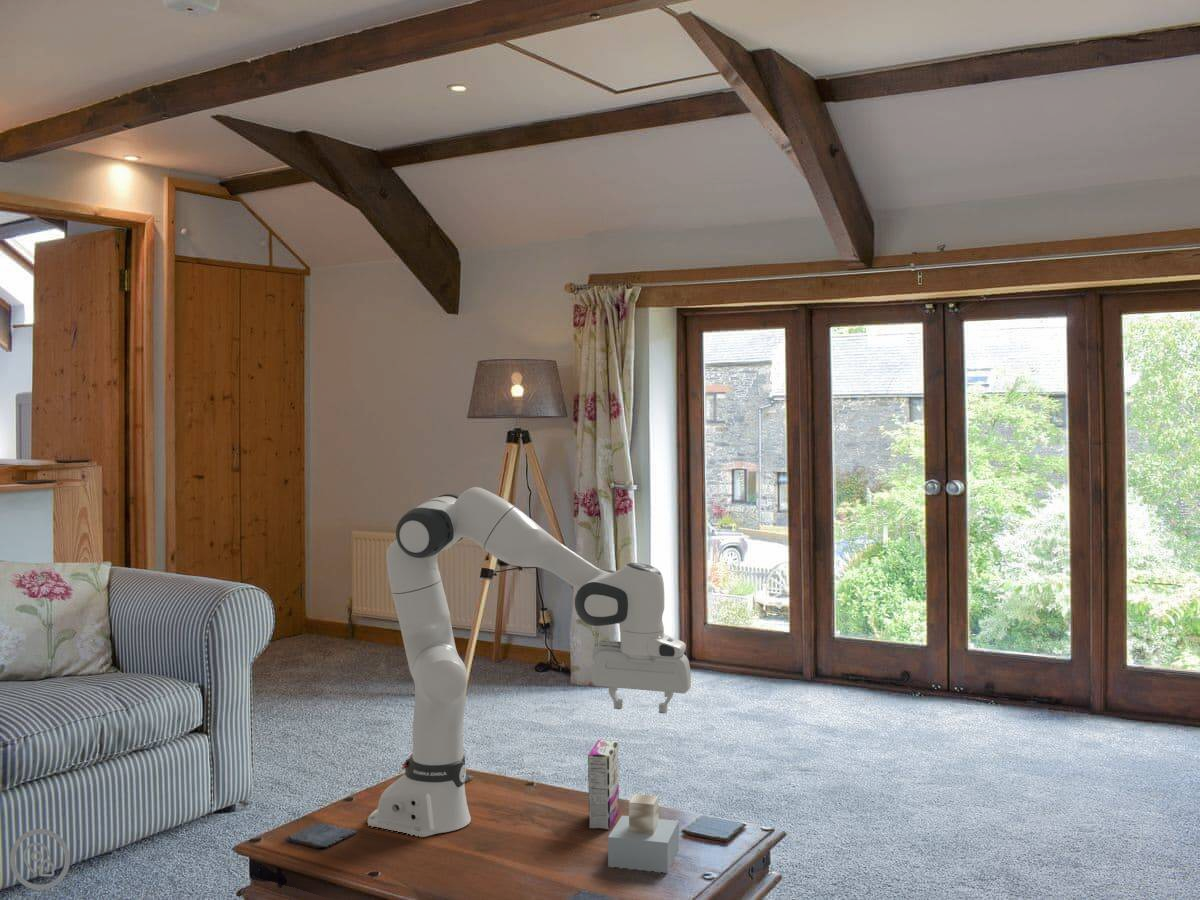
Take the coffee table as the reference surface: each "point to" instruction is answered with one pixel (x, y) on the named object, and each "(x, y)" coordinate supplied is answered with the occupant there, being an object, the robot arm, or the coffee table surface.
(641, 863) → the slate block
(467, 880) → the coffee table surface
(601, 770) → the candy bar box
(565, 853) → the coffee table surface
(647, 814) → the cream block
